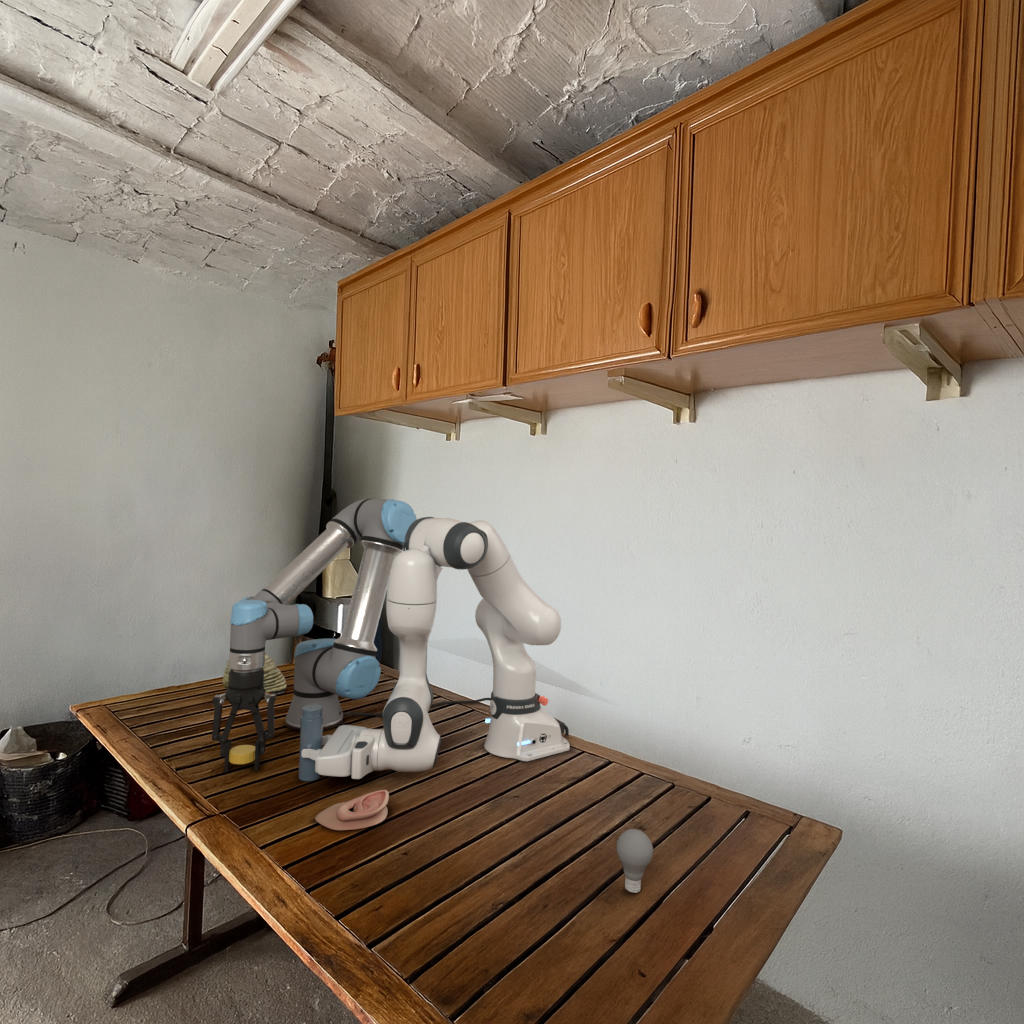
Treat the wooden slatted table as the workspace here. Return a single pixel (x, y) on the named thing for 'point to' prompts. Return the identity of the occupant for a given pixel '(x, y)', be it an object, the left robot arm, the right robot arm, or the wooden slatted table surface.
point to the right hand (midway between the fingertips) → (306, 746)
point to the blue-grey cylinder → (310, 739)
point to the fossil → (265, 677)
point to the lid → (242, 754)
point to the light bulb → (634, 857)
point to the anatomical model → (356, 812)
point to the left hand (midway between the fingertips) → (242, 768)
